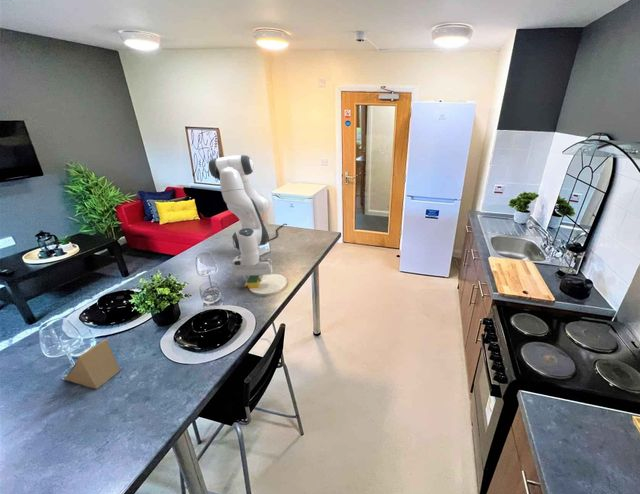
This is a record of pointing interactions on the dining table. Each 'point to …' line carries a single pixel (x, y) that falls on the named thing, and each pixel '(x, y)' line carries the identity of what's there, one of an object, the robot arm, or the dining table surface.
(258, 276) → the sponge
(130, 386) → the dining table surface
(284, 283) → the plate
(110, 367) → the sandwich container
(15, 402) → the dining table surface
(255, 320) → the dining table surface
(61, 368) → the dining table surface
